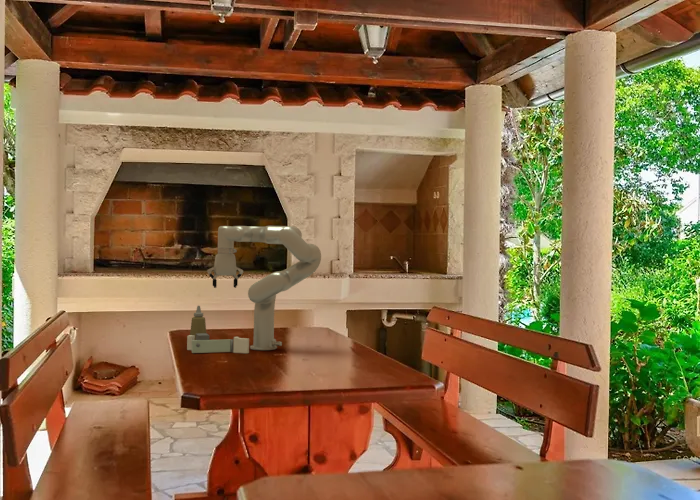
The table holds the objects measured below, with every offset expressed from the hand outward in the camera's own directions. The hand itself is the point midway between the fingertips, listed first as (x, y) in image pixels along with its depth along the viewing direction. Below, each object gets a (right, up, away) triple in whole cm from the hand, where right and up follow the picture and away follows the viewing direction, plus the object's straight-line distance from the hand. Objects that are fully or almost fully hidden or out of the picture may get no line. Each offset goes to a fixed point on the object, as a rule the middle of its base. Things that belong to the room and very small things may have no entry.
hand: (225, 287), depth 362 cm
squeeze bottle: (-16, -28, +14) cm, 35 cm away
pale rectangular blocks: (-1, -29, -15) cm, 32 cm away
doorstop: (-8, -29, -17) cm, 34 cm away
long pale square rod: (-2, -28, -20) cm, 35 cm away
